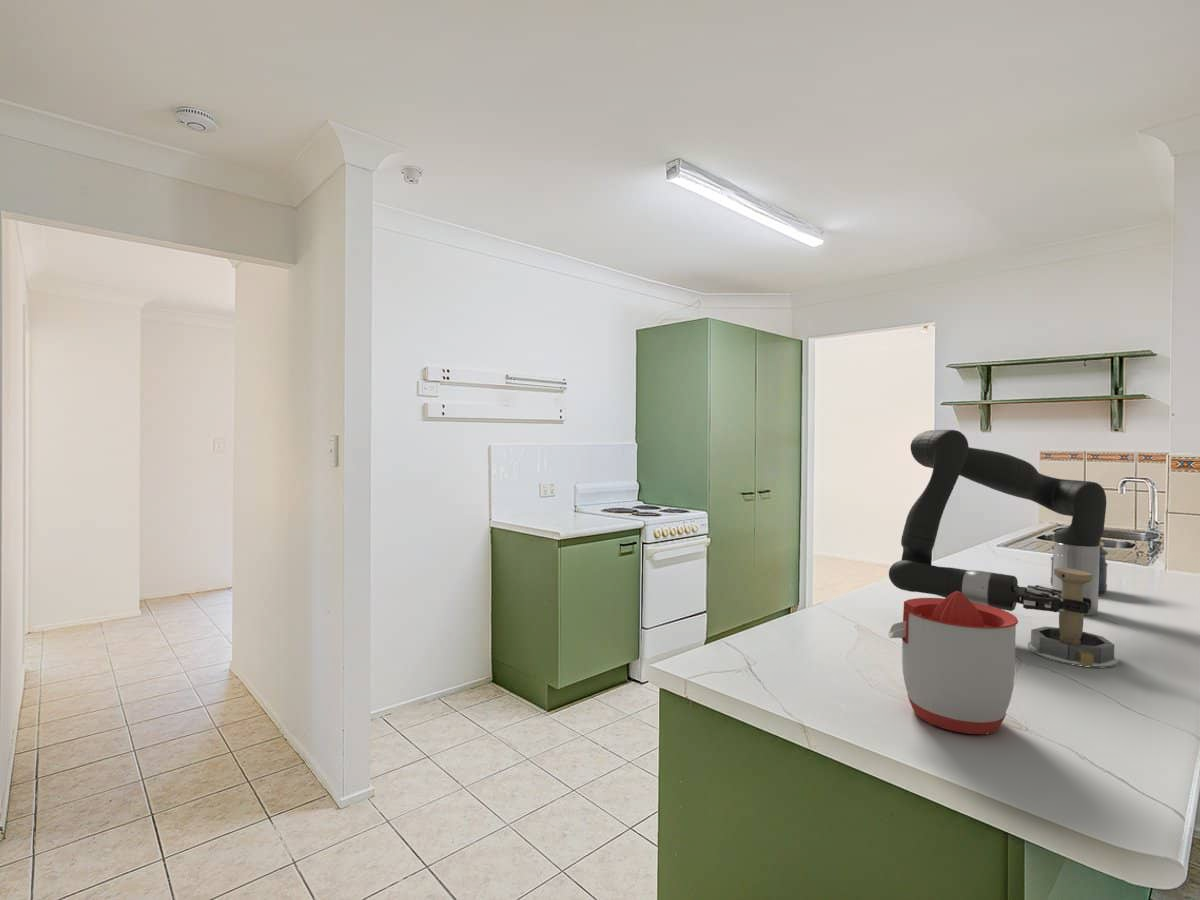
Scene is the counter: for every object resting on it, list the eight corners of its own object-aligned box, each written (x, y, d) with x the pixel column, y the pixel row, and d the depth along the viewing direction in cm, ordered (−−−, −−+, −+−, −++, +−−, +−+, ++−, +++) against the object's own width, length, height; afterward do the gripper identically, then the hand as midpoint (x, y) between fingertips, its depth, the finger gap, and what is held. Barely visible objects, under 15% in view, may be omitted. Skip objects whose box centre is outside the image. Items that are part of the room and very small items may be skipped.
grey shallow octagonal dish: (1017, 638, 133) (1017, 622, 133) (1096, 646, 128) (1097, 629, 128) (1042, 662, 119) (1043, 644, 119) (1132, 672, 114) (1133, 653, 114)
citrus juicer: (884, 689, 106) (887, 574, 105) (1002, 707, 99) (1005, 585, 99) (889, 728, 91) (892, 596, 91) (1027, 753, 85) (1031, 610, 84)
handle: (1075, 651, 120) (1078, 575, 120) (1045, 640, 126) (1048, 568, 126) (1095, 649, 121) (1098, 574, 120) (1064, 638, 127) (1068, 567, 127)
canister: (1066, 594, 171) (1067, 532, 171) (1040, 583, 184) (1042, 525, 184) (1118, 597, 169) (1120, 534, 169) (1088, 585, 182) (1090, 527, 182)
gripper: (982, 577, 128) (1087, 594, 116) (997, 567, 138) (1094, 581, 126) (981, 613, 128) (1085, 633, 116) (995, 600, 139) (1092, 617, 127)
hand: (1089, 606), depth 121 cm, fingers closed on handle, 3 cm apart
